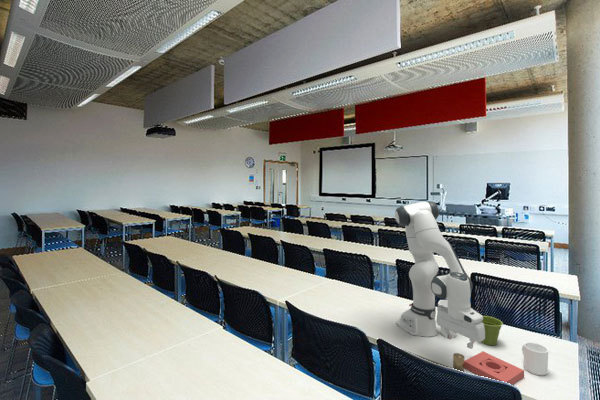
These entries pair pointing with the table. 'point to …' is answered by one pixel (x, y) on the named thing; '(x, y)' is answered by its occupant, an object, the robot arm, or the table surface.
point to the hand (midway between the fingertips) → (459, 343)
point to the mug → (535, 358)
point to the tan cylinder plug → (458, 361)
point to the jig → (493, 368)
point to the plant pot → (491, 330)
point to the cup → (444, 303)
